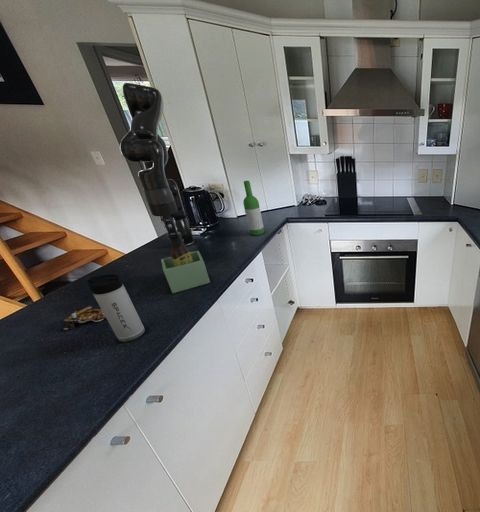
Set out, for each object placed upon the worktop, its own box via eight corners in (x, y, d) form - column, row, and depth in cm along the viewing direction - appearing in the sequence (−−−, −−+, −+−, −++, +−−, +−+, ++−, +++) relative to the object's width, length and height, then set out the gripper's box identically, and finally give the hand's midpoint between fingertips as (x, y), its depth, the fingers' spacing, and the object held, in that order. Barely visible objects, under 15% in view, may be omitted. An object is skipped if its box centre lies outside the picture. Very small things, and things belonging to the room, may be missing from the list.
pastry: (115, 317, 90) (110, 308, 88) (63, 331, 83) (57, 322, 82) (118, 306, 95) (113, 298, 93) (69, 319, 88) (63, 310, 87)
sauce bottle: (189, 284, 106) (172, 237, 97) (175, 282, 107) (157, 236, 98) (202, 276, 112) (187, 231, 103) (189, 274, 113) (173, 229, 104)
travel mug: (127, 328, 85) (98, 272, 76) (150, 327, 85) (124, 272, 77) (111, 342, 79) (78, 284, 71) (135, 341, 80) (105, 283, 71)
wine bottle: (258, 236, 154) (246, 183, 140) (247, 235, 156) (235, 181, 143) (267, 232, 160) (257, 180, 147) (256, 230, 162) (246, 179, 149)
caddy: (169, 280, 110) (160, 259, 106) (205, 271, 118) (198, 250, 113) (172, 293, 102) (163, 270, 98) (210, 282, 110) (203, 260, 105)
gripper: (146, 198, 98) (163, 241, 106) (148, 206, 88) (166, 254, 96) (172, 195, 102) (186, 237, 110) (176, 203, 93) (191, 248, 100)
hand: (176, 244), depth 103 cm, fingers closed on sauce bottle, 4 cm apart
